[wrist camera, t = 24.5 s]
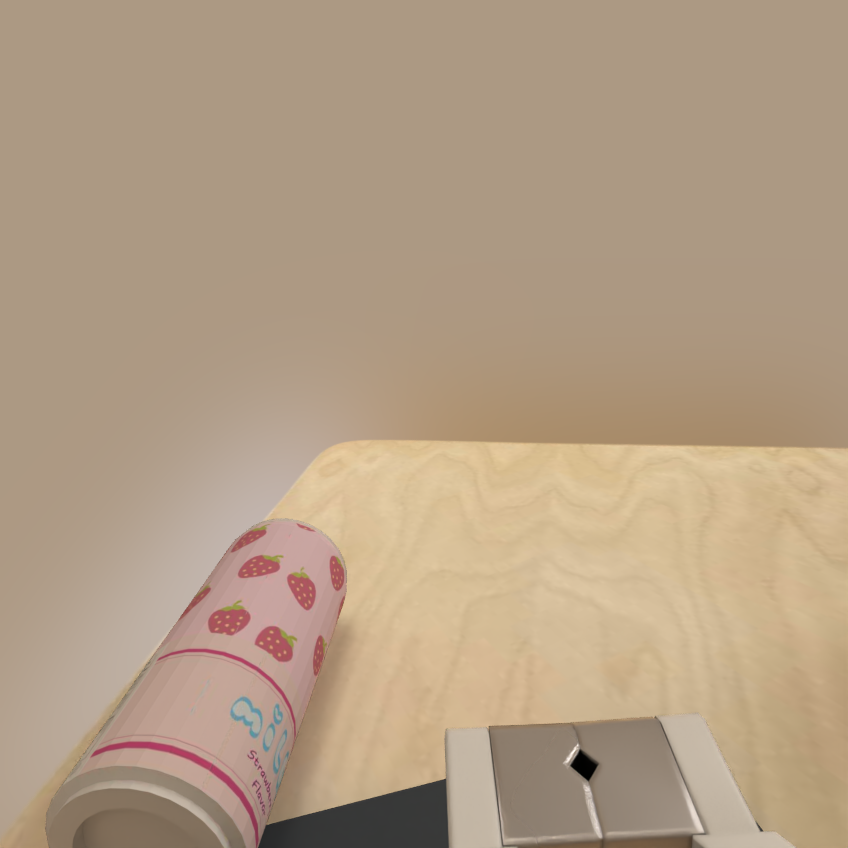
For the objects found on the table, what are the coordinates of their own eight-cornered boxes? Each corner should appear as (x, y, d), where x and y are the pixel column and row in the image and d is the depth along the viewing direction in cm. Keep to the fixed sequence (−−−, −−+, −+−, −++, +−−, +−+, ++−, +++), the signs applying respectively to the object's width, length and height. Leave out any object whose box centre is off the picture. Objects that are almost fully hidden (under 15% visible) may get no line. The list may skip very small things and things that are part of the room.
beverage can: (227, 782, 19) (346, 512, 33) (14, 773, 19) (220, 512, 33) (256, 944, 21) (357, 623, 35) (61, 931, 21) (237, 621, 35)
